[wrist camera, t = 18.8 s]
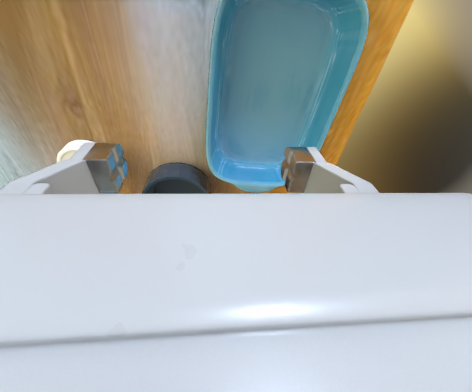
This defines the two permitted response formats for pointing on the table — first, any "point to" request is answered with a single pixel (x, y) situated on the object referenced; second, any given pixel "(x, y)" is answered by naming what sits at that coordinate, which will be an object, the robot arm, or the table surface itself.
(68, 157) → the coaster
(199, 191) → the bowl
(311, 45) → the casserole dish
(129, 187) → the table surface
